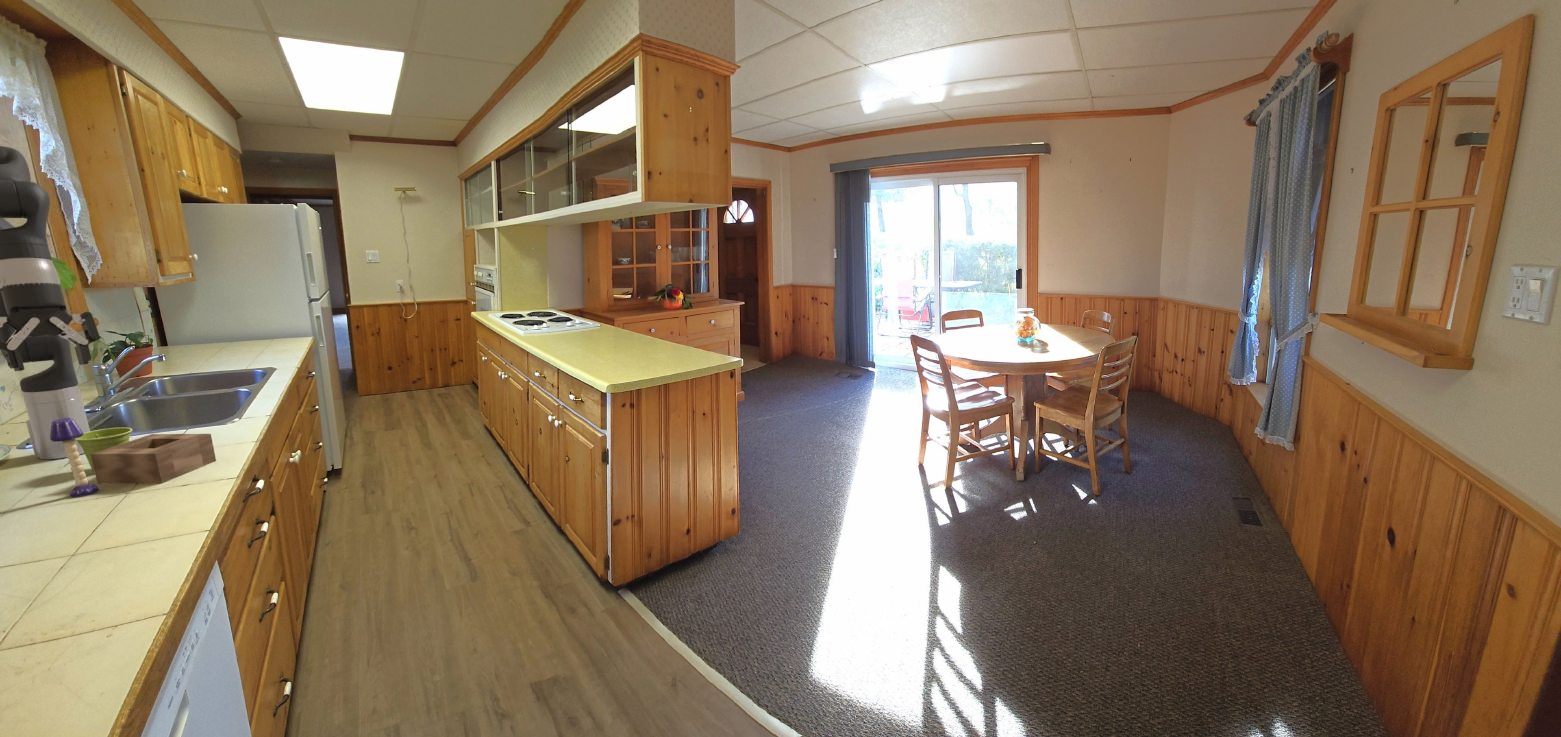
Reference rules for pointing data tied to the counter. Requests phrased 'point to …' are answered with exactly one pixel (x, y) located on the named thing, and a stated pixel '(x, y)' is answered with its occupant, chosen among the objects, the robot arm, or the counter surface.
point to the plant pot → (102, 440)
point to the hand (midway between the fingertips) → (52, 367)
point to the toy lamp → (72, 454)
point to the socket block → (153, 458)
